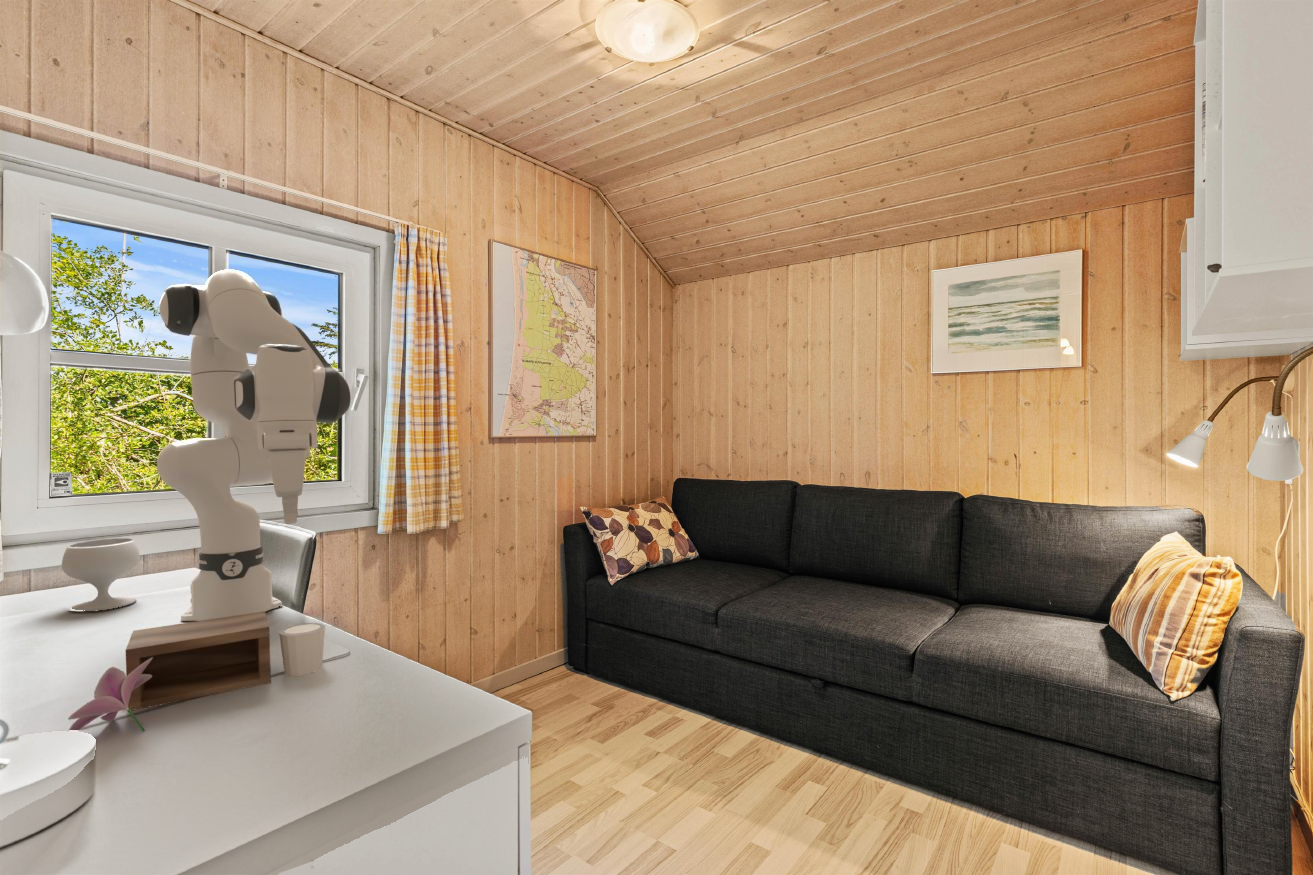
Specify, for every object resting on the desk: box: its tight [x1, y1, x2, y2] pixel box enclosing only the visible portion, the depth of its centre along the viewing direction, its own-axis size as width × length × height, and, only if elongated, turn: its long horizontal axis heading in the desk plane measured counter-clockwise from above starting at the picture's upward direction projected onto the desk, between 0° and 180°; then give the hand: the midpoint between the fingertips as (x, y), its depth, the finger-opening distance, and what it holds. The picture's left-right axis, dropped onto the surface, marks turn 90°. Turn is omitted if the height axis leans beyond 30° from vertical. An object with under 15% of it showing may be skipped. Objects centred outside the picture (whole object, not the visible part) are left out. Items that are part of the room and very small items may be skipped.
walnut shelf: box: [125, 611, 272, 711], centre depth 105 cm, size 11×18×9 cm, turn 124°
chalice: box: [61, 537, 141, 612], centre depth 154 cm, size 14×14×15 cm
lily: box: [67, 657, 153, 733], centre depth 89 cm, size 12×12×10 cm
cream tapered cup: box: [278, 622, 326, 677], centre depth 111 cm, size 7×7×7 cm
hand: (291, 520), depth 111 cm, fingers open, 8 cm apart
